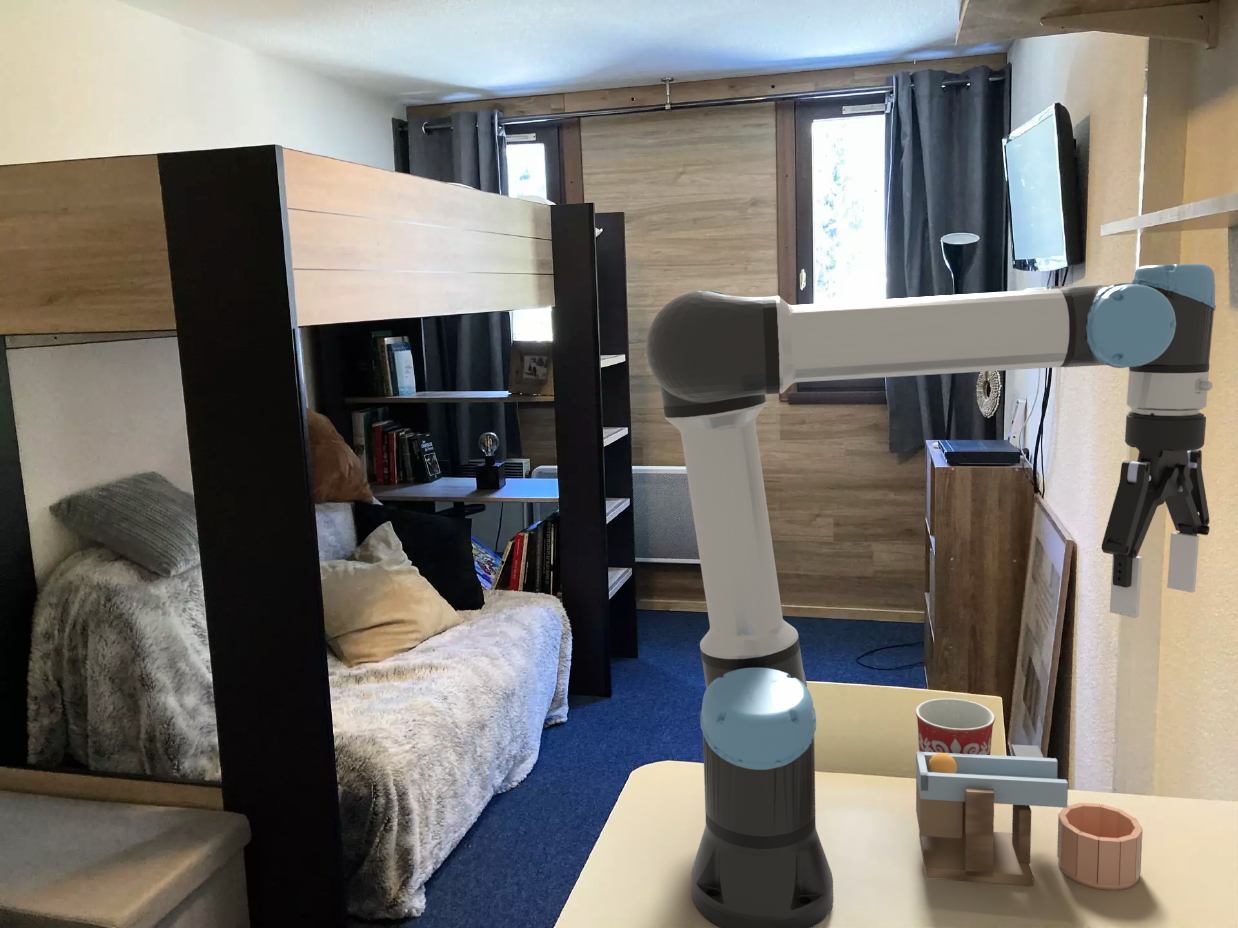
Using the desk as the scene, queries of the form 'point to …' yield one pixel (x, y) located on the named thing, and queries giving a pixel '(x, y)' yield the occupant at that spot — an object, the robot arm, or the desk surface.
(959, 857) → the stand
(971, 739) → the mug
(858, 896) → the desk surface
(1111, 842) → the cup
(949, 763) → the ball
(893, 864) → the desk surface
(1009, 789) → the chute
